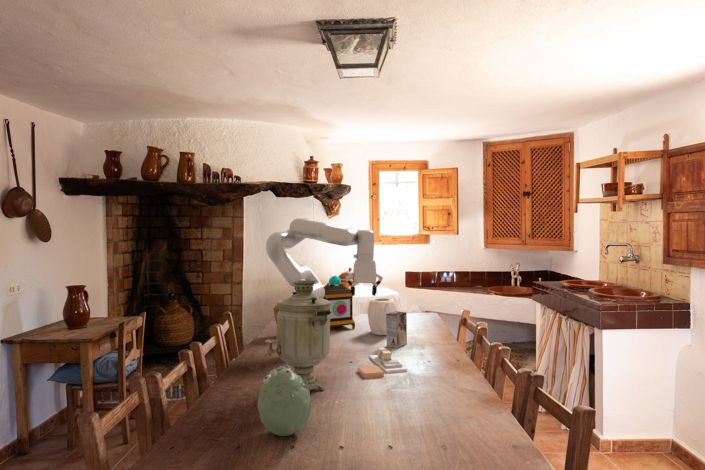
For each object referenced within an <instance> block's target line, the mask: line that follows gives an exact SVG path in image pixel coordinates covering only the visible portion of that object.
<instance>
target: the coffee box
mask: <svg viewBox="0 0 705 470" xmlns="http://www.w3.org/2000/svg"><path fill="white" fill-rule="evenodd" d="M407 322H408V320H407V312H406V311H399V310H397V311H395V312H392V313H388V314H386V328H387V335H386V347H390V348H395V349H398V348H400V347H402V346H403V347H404V346H406V345H407V344H408V343H407V341H408V338H407V336H408V334H407V333H408V331H407V328H408V327H407V326H408V325H407V324H408V323H407Z"/></svg>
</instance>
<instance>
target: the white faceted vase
mask: <svg viewBox="0 0 705 470" xmlns="http://www.w3.org/2000/svg"><path fill="white" fill-rule="evenodd" d="M397 309H398V308H397V305H396V302H395V300H394V299H393V298H390V297H374V298H372V299H370V300H369V303H368V307H367V319H368V326H369V329H370V332H371V334H372V335H377V336H387V328H386V314H388V313H392V312H395V311H398V310H397Z"/></svg>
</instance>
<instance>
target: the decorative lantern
mask: <svg viewBox="0 0 705 470" xmlns="http://www.w3.org/2000/svg"><path fill="white" fill-rule="evenodd" d="M323 287H324V290H325V295H324V297H323V299H326V300H328V301H330V302H331V304H330V307H329V310H330V311H331V312H332V313H330V328H331V327H333V328H334V327H341V326H350V325H351V329H352V330H354V329H356V328H355V327H356V323H355V321H354V318H353V297H354V296H353V295H352V294H351V288H348V287H346V286H345V285H344V284H343V283H342V281H341V278H340V277H339V276H338V275H333V276H331V277H330V278H329V280H328V283H326V284H325V285H323Z"/></svg>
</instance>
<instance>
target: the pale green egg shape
mask: <svg viewBox="0 0 705 470" xmlns="http://www.w3.org/2000/svg"><path fill="white" fill-rule="evenodd" d="M310 391H311V390H309V388H308V384H307V380H306V379H304V380H302V378H301V377H300V375H297V373H295V372H294V370H292V368H291V366H290V365H288V364H285V365H280V366H278V367H275V368H274V369H272V370H269V371H268V374H266V375H265V376H264V378H263V380H262V384H261V387H260V389H259V393H258V399H257V410H258V413H259V419H260V421H261V424H263V426H264V427H265V429H267V430H268V432H270V433H272V434H274V435H276V436H279V437H288V436H291V435H294V434H296V433H297V432H298V431H300V430H301V429H302V428H303V427H304V426H305V425H306V423H307V421H308V420H309V418H310V415H311V413H312V409H313V408H312V406H313V405H312V400H311V393H310Z"/></svg>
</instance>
